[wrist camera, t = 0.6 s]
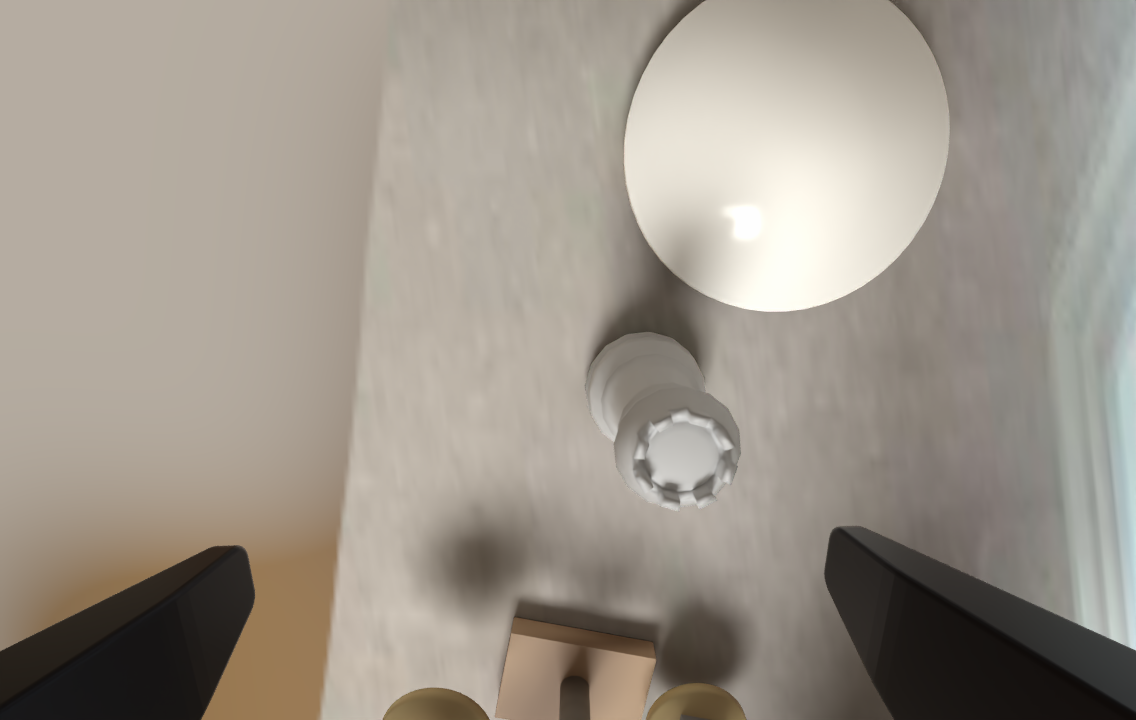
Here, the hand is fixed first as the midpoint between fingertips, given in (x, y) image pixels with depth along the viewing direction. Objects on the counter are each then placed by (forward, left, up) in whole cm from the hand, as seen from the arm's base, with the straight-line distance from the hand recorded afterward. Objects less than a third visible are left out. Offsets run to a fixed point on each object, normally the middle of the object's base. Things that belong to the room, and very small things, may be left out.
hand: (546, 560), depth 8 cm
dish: (-6, -10, -13) cm, 17 cm away
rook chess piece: (-3, 0, -13) cm, 13 cm away
